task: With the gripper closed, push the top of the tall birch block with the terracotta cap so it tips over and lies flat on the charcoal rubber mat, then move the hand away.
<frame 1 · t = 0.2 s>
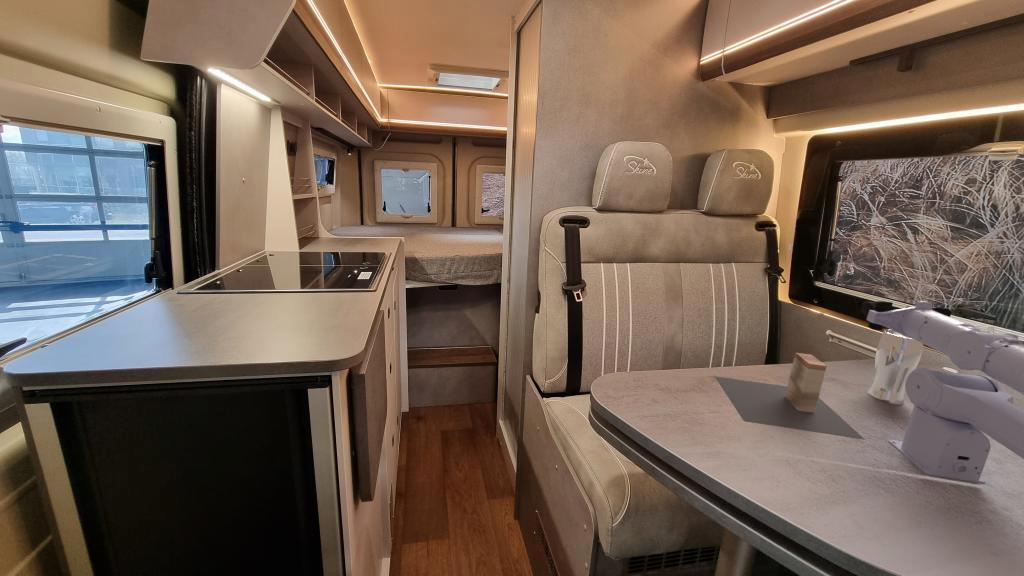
hand: (885, 308, 84), 21 cm above the table, tool horizontal, fingers open, 7 cm apart
rubber mat: (779, 405, 86), on the table
birch block: (799, 404, 86), resting on rubber mat
beer glass: (884, 399, 93), on the table
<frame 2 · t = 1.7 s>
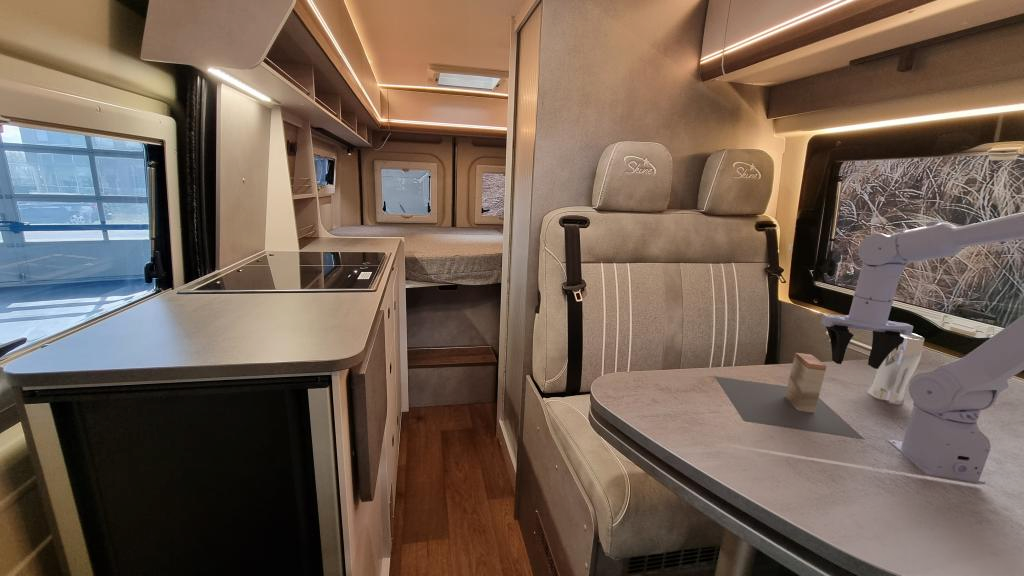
hand: (854, 364, 83), 10 cm above the table, tool pointing down, fingers open, 6 cm apart
nothing on the table moved.
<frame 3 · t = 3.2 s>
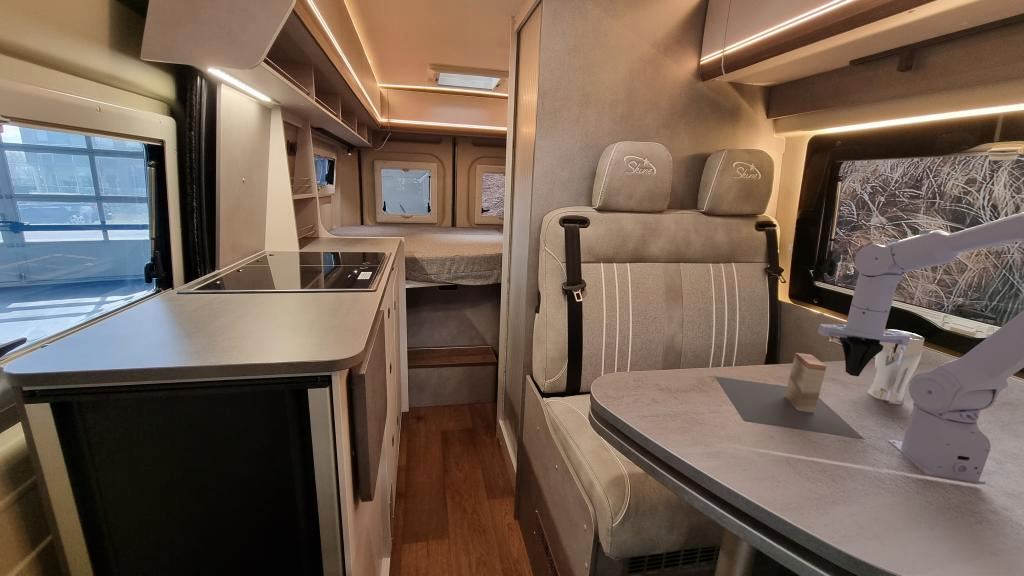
hand: (851, 374, 83), 8 cm above the table, tool pointing down, fingers closed
nothing on the table moved.
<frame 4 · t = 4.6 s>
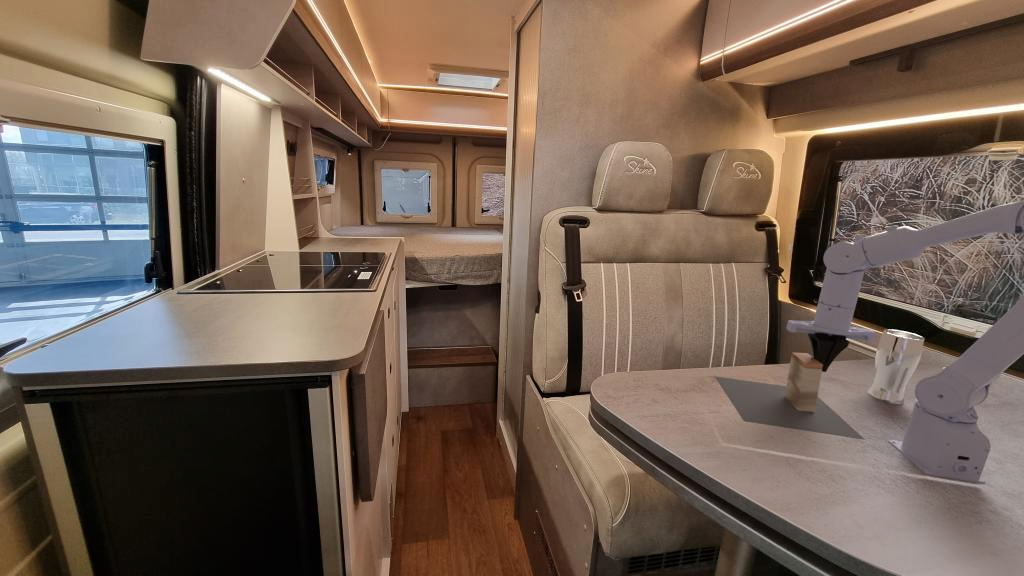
hand: (819, 369, 84), 8 cm above the table, tool pointing down, fingers closed
nothing on the table moved.
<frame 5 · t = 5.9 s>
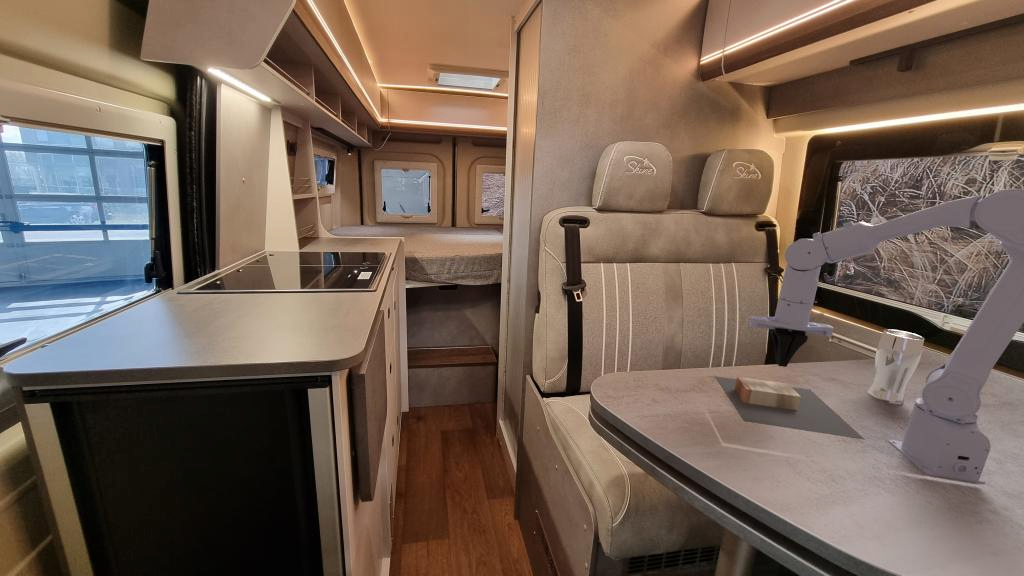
hand: (780, 364, 85), 8 cm above the table, tool pointing down, fingers closed
birch block: (792, 396, 86), point 2 cm above the table, tilted 90°, touching rubber mat
everything else where it was.
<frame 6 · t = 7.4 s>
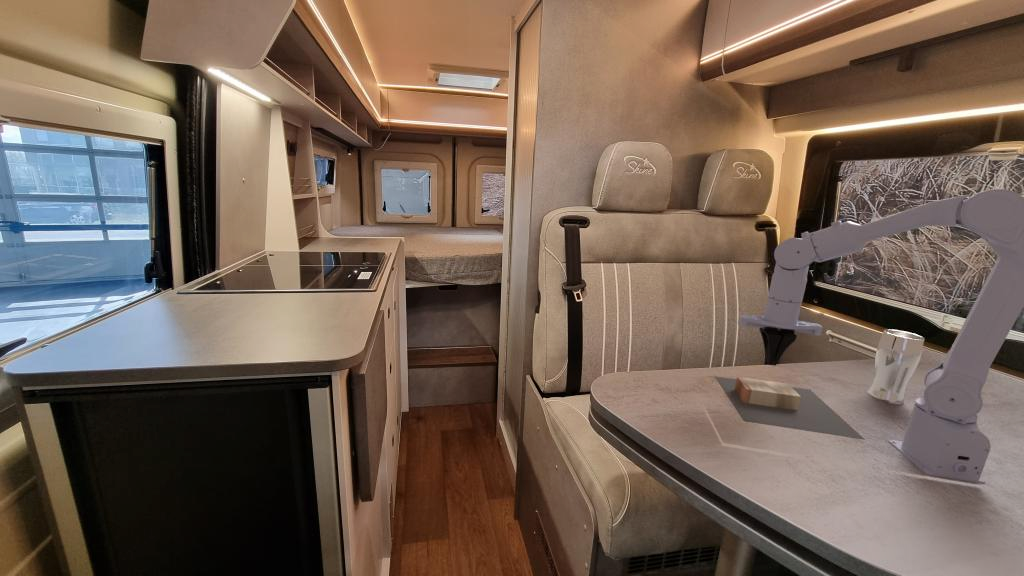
hand: (770, 363, 86), 8 cm above the table, tool pointing down, fingers closed
nothing on the table moved.
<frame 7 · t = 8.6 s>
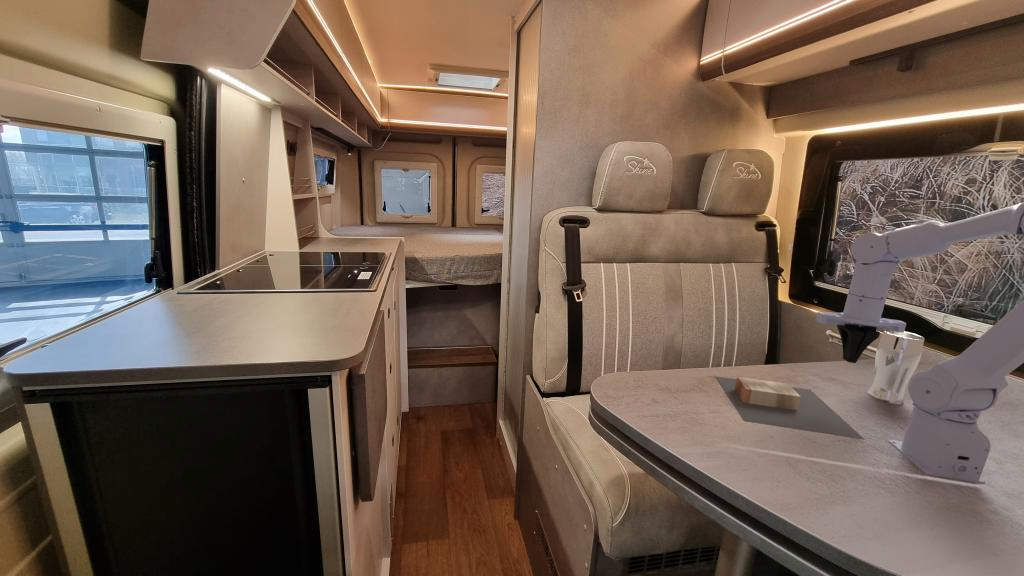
hand: (849, 360, 84), 10 cm above the table, tool pointing down, fingers closed
nothing on the table moved.
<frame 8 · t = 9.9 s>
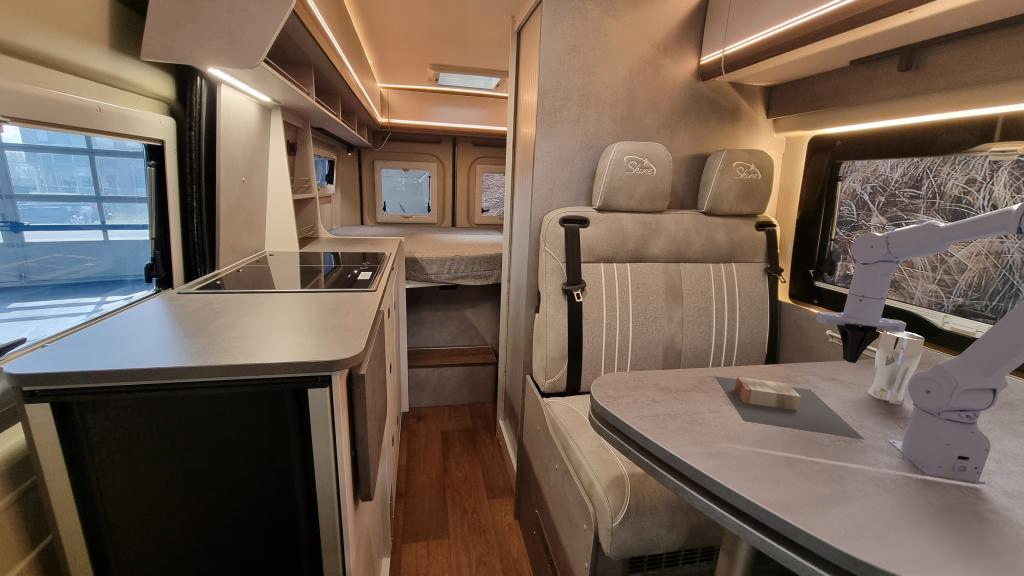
hand: (849, 360, 84), 10 cm above the table, tool pointing down, fingers closed
nothing on the table moved.
at the end: birch block tilted 90°; birch block inside the target area (1.4 cm from its centre), point 1.9 cm above the table; the gripper is holding nothing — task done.
